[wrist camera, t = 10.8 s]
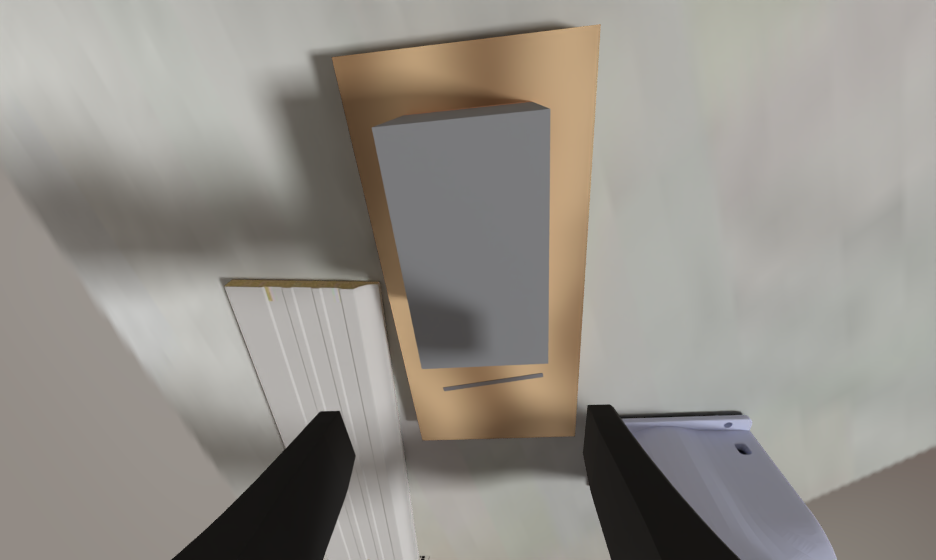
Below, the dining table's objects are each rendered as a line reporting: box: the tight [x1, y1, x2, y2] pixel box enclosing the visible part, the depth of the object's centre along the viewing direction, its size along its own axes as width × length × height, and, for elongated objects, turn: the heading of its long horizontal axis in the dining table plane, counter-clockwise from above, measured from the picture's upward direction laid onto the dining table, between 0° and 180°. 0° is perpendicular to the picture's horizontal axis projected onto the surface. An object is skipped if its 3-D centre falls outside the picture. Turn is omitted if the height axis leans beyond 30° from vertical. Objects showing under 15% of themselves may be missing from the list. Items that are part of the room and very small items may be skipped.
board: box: [332, 24, 601, 440], centre depth 19 cm, size 10×22×2 cm, turn 6°
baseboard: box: [224, 280, 425, 560], centre depth 27 cm, size 30×3×10 cm
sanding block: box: [372, 101, 550, 369], centre depth 14 cm, size 5×9×5 cm, turn 6°
